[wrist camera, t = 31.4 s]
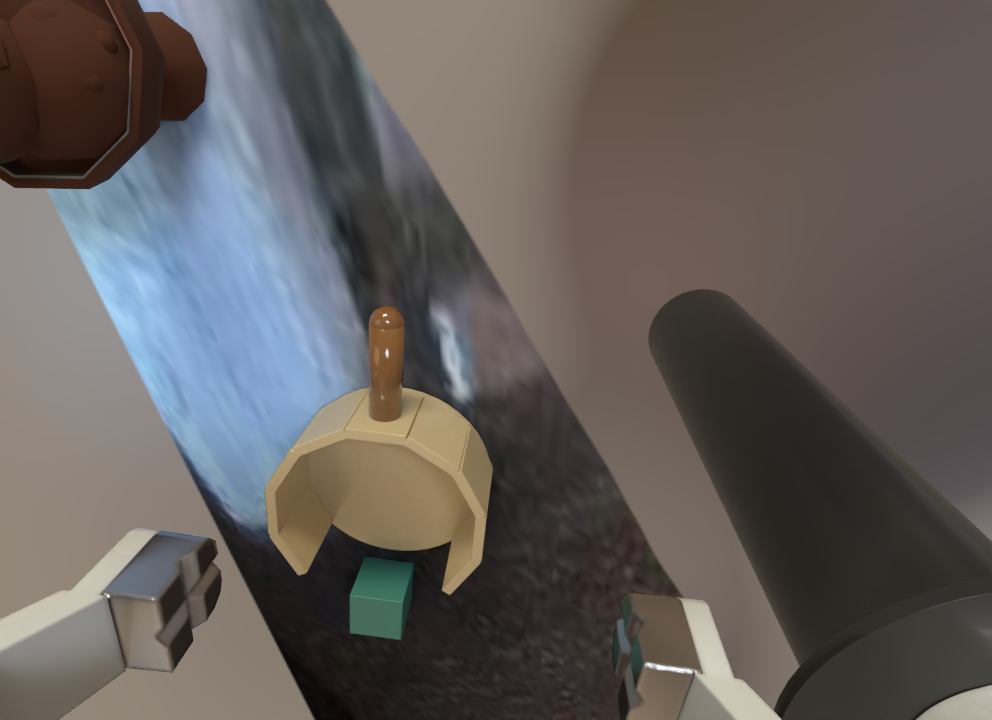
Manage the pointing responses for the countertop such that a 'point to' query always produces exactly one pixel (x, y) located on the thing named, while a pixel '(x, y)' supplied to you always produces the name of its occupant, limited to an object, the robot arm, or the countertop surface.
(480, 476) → the tan scoop with handle
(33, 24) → the ice cream bowl
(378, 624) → the block
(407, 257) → the countertop surface
